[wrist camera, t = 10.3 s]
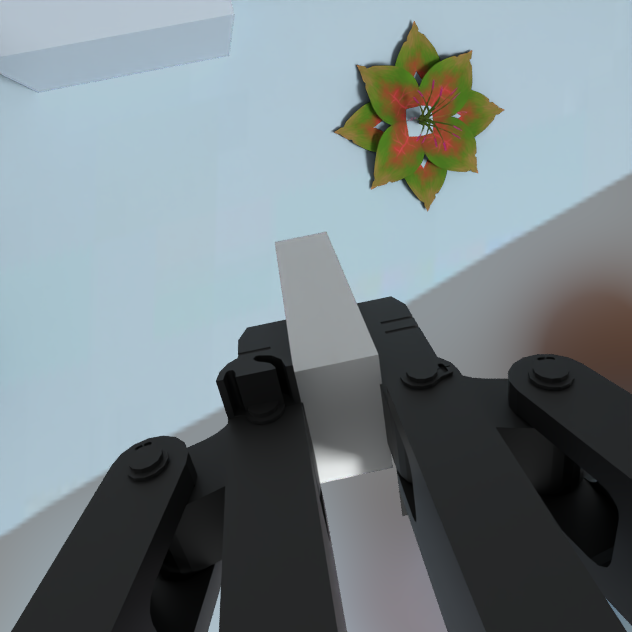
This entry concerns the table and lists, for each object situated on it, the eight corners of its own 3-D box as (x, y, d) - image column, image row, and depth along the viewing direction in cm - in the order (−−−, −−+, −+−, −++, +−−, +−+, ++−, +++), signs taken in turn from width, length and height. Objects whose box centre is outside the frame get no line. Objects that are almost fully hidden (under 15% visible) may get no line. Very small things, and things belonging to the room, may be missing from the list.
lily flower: (525, 107, 38) (565, 98, 34) (426, 239, 39) (453, 246, 35) (407, -12, 35) (435, -39, 30) (302, 137, 36) (314, 130, 31)
